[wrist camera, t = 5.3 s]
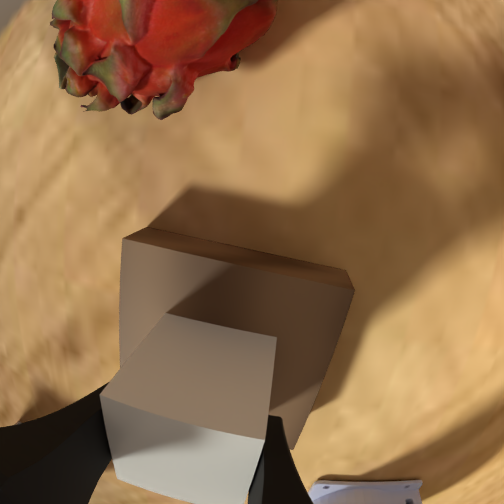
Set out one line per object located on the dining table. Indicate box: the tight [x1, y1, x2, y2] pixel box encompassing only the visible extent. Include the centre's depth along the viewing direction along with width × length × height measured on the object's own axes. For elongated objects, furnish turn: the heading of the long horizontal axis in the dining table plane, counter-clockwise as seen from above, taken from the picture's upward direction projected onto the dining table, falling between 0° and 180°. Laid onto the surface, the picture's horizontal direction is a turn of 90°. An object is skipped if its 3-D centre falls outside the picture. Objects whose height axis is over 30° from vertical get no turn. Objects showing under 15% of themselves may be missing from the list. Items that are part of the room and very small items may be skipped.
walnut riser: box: [119, 227, 355, 450], centre depth 16 cm, size 10×10×3 cm
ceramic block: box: [100, 313, 277, 504], centre depth 12 cm, size 5×5×6 cm
